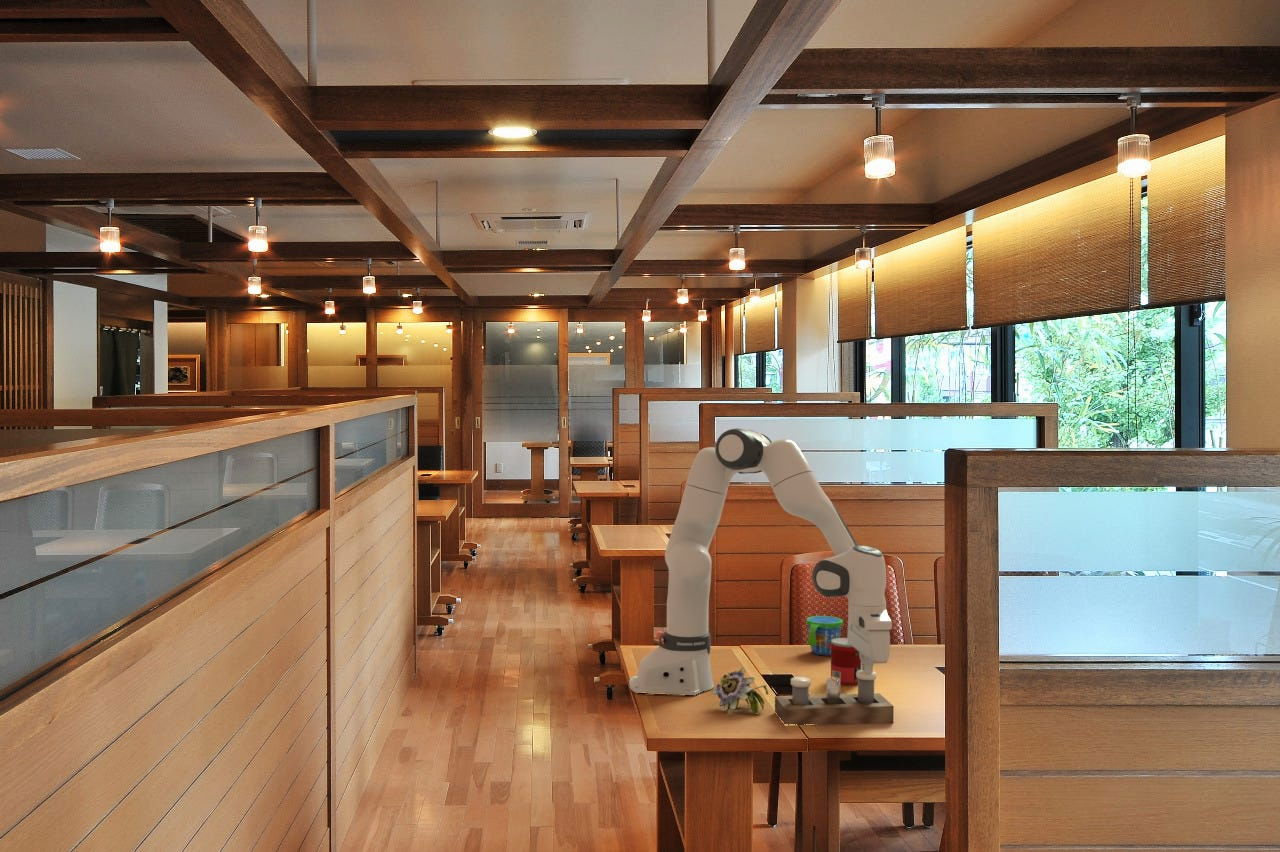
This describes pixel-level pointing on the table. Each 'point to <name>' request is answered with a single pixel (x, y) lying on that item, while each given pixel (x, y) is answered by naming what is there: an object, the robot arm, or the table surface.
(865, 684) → the knob right
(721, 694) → the passion flower
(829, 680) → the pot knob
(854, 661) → the canned food
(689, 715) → the table surface
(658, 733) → the table surface
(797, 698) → the knob left
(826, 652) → the snack cup
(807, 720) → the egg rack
